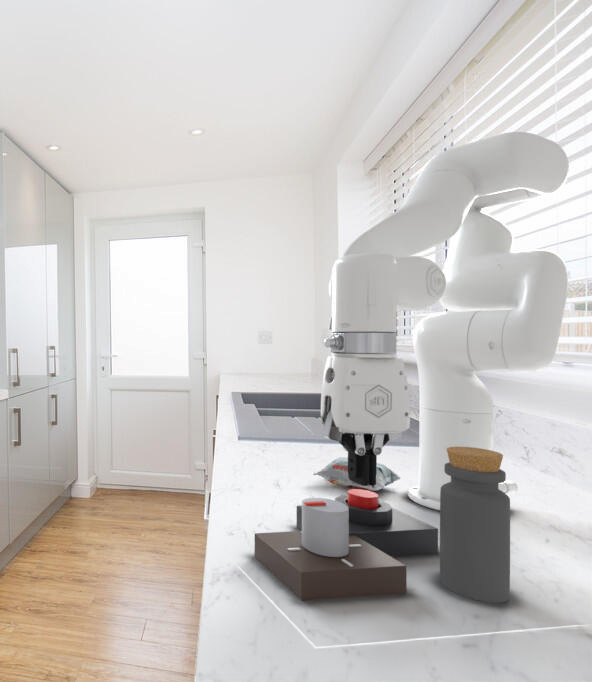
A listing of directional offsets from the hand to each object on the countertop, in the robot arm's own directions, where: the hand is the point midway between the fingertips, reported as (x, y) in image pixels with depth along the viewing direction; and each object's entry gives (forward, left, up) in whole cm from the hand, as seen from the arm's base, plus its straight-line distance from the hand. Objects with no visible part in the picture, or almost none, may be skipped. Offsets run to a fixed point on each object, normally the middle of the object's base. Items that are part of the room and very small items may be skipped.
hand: (361, 482), depth 64 cm
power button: (0, 0, -3) cm, 3 cm away
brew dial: (+11, +8, -5) cm, 14 cm away
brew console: (+11, +8, -8) cm, 16 cm away
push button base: (0, 0, -8) cm, 8 cm away
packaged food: (-15, -21, -8) cm, 27 cm away
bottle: (-3, +13, -8) cm, 16 cm away
